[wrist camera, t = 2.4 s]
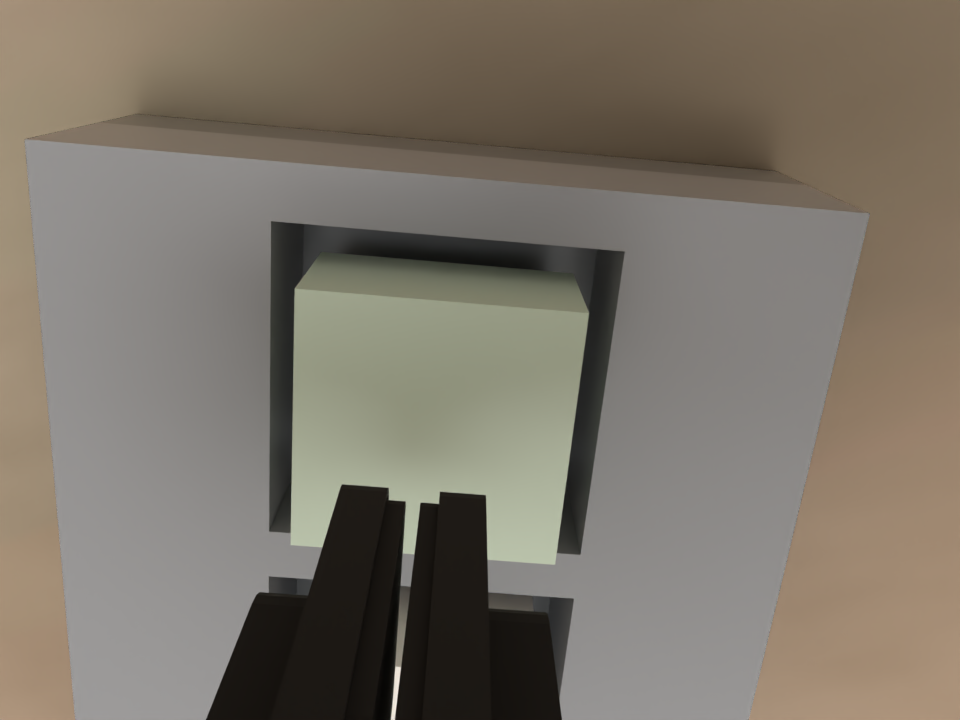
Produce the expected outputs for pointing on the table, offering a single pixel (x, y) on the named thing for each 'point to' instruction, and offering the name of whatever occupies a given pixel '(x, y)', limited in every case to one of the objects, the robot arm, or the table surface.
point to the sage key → (436, 393)
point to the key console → (441, 238)
